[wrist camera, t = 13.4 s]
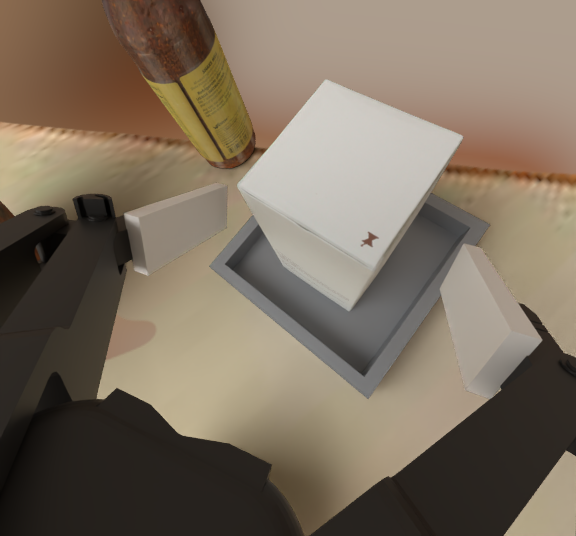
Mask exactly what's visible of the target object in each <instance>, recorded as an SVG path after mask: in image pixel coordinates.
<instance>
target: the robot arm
mask: <svg viewBox="0 0 576 536" xmlns="http://www.w3.org/2000/svg"><path fill="white" fill-rule="evenodd" d="M73 202H74V205H75V209H76V212H77V216H78V220H77V221H73V220H67V217H66V213H65V210H64V209H62V208H58V207H50V206H40V207H37V208H34V209H30V210H27V211H25V212H23V213H21V214H19V215H17V216H15V217H13V218H11V219H9V220H7V221H5V222H2V223H0V536H304V534H303V531H302V528H301V526H300V524H299V521H298V519H297V517H296V515H295V513H294V511H293V509H292V508H291V506H290V505H289V503H288V501H287V500H286V498H285V497H284V496H283V495H282V493H281V492H280V491H279V489H278V488H277V487H276V486H275V485H274V484H273V483H272V482H271V481H270V480H269V475H270V471H271V466H272V465H271V464H269V463H267V462H265V461H263V460H261V459H259V458H257V457H255V456H253V455H251V454H249V453H247V452H245V451H243V450H241V449H239V448H237V447H235V446H233V445H231V444H228V443H222V442H216V441H210V440H204V439H198V438H192V437H186V436H182V435H180V434H178V433H177V432H176V431H175V430H174V429H173V428H172V427H171V426H170V425H169V424H168V422H167V421H166V420H165V419H164V418H163V417H162V416H161V415H160V414H159V413H158V412H157V411H156V410H155V409H154V408H153V407H152V406H151V405H150V404H148V403H146V402H144V401H142V400H140V399H138V398H136V397H134V396H132V395H130V394H128V393H126V392H124V391H122V390H120V389H118V388H116V389H115V390H114V391H113V392H112V393H111V394H110V395H109V396H108V397H107V398H106V399H96V398H97V392H98V388H99V384H100V380H101V375H102V371H103V367H104V363H105V359H106V355H107V351H108V346H109V342H110V338H111V334H112V330H113V325H114V321H115V317H116V313H117V309H118V305H119V301H120V296H121V292H122V288H123V284H124V280H125V276H126V271H127V269H126V264H125V263H126V262H128V261H130V260H132V261H133V266H134V271H136V272H139V273H142V274H145V275H147V276H149V275H150V274H152V273H154V272H155V271H157V270H158V269H160V268H162V267H163V266H165V265H167V264H168V263H170V262H172V261H173V260H175V259H176V258H178V257H180V256H181V255H183V254H185V253H186V252H188V251H190V250H191V249H193V248H194V247H196V246H198V245H199V244H201V243H203V242H204V241H206V240H208V239H209V238H211V237H212V236H214V235H216V234H217V233H219V232H221V231H222V230H224V229H226V228H227V185H224V184H220V183H214V184H211V185H208V186H205V187H201V188H198V189H195V190H192V191H189V192H186V193H183V194H180V195H177V196H174V197H171V198H168V199H165V200H162V201H159V202H156V203H153V204H150V205H147V206H143V207H140V208H137V209H134V210H131V211H128V212H125V213H123V214H124V215H123V216H120V217H117V218H116V217H115V212H114V207H113V202H112V198H111V197H110V196H107V195H103V194H86V195H80V196H77V197H75V198H73ZM35 248H37V251H38V253H39V256H40V258H41V259H40V260H39V261H37V258H36V256H35ZM440 293H441V297H442V301H443V305H444V309H445V312H446V316H447V320H448V324H449V328H450V332H451V336H452V340H453V344H454V348H455V352H456V356H457V360H458V364H459V368H460V372H461V376H462V380H463V384H464V388H465V390H466V391H469V392H471V393H474V394H477V395H480V396H482V397H485V398H488V399H490V400H489V401H487V402H486V403H485V404H484V405H482V406H481V407H480V408H479V409H477V410H476V411H475V412H474V413H472V414H471V415H470V416H469V417H467V418H466V419H465V420H464V421H462V422H461V423H460V424H459V425H457V426H456V427H455V428H454V429H452V430H451V431H450V432H448V433H447V434H446V435H445V436H443V437H442V438H441V439H440V440H438V441H437V442H436V443H435V444H433V445H432V446H431V447H430V448H428V449H427V450H426V451H425V452H423V453H422V454H421V455H420V456H418V457H417V458H416V459H415V460H413V461H412V462H411V463H410V464H408V465H407V466H406V467H405V468H403V469H402V470H401V471H400V472H398V473H397V474H396V475H394V476H393V477H391V478H390V477H389V476H388V477H386V478H384V479H382V480H381V481H379V482H378V483H377V484H375V485H374V486H373V487H371V488H370V489H369V490H368V491H366V492H365V493H364V494H362V495H361V496H360V497H359V498H357V499H356V500H355V501H353V502H352V503H351V504H350V505H348V506H347V507H346V508H344V509H343V510H342V511H341V512H339V513H338V514H337V515H336V516H334V517H333V518H332V519H330V520H329V521H328V522H327V523H325V524H324V525H323V526H321V527H320V528H319V529H318V530H316V531H315V532H314V533H313V534H311V535H310V536H504V534H505V533H506V531H507V530H508V529H509V527H510V526H511V525H512V523H513V522H514V521H515V519H516V518H517V516H518V515H519V514H520V512H521V511H522V510H523V508H524V507H525V506H526V504H527V503H528V501H529V500H530V499H531V497H532V496H533V495H534V493H535V492H536V491H537V489H538V488H539V486H540V485H541V484H542V482H543V481H544V480H545V478H546V477H547V475H548V474H549V473H550V471H551V470H552V469H553V467H554V466H555V465H556V463H557V462H558V460H559V459H560V458H561V456H562V455H563V454H564V452H565V451H566V450H567V451H568V452H570V453H572V454H573V455H575V456H576V358H575V357H573V356H571V355H568V354H565V353H563V351H562V350H561V349H560V347H559V346H558V344H557V343H556V342H555V340H554V339H553V337H552V336H551V335H550V333H548V331H547V329H546V328H545V326H544V325H542V322H541V321H540V319H539V318H538V317H537V315H536V314H535V313H534V312H532V311H531V310H530V309H529V308H527V307H526V306H525V305H524V304H520V303H518V302H517V301H516V299H515V298H514V296H513V295H512V293H511V292H510V290H509V289H508V287H507V286H506V284H505V283H504V281H503V280H502V278H501V277H500V275H499V274H498V273H497V271H496V270H495V268H494V267H493V265H492V264H491V262H490V261H489V259H488V258H487V256H486V255H485V253H484V252H483V250H482V249H481V247H477V246H473V245H468V244H463V245H462V247H461V249H460V251H459V253H458V255H457V257H456V259H455V261H454V262H453V264H452V266H451V268H450V270H449V272H448V274H447V276H446V278H445V279H444V281H443V283H442V285H441V287H440ZM500 388H501V391H500V392H499V393H497V394H496V395H495V393H496V392H497V391H498V390H499V389H500ZM494 395H495V396H494ZM493 396H494V397H493Z"/></svg>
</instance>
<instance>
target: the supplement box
mask: <svg viewBox="0 0 576 536" xmlns="http://www.w3.org/2000/svg"><path fill="white" fill-rule="evenodd" d="M463 138H464V137H463V136H462V135H460V134H458V133H455V132H453V131H451V130H448V129H446V128H443V127H440V126H438V125H436V124H433V123H431V122H428V121H425V120H423V119H421V118H418V117H416V116H414V115H411V114H409V113H406V112H404V111H402V110H399V109H397V108H394V107H392V106H389V105H387V104H385V103H382V102H380V101H377V100H375V99H373V98H370V97H368V96H365V95H363V94H361V93H358V92H356V91H353V90H351V89H349V88H346V87H344V86H342V85H339V84H337V83H335V82H332V81H330V80H324V82H323V83H322V84H321V85H320V86H319V88H318V89H317V90H316V91H315V92H314V94H313V95H312V96H311V97H310V98H309V100H308V101H307V102H306V103H305V105H304V106H303V107H302V108H301V109H300V111H299V112H298V113H297V114H296V115H295V117H294V118H293V119H292V120H291V122H290V123H289V124H288V125H287V126H286V128H285V129H284V130H283V131H282V133H281V134H280V135H279V136H278V138H277V139H276V140H275V141H274V142H273V143H272V145H271V146H270V147H269V148H268V149H267V150H266V151H265V153H264V154H263V155H262V156H261V157H260V158H259V159H258V161H257V162H256V163H255V164H254V165H253V166H252V168H251V169H250V170H249V171H248V172H247V173H246V175H245V176H244V177H243V178H242V179H241V180H240V181H239V182H238V184H237V187H238V189H239V191H240V193H241V195H242V196H243V198H244V200H245V202H246V204H247V205H248V207H249V209H250V210H251V212H252V214H253V216H254V217H255V219H256V221H257V222H258V224H259V226H260V227H261V229H262V231H263V232H264V234H265V236H266V237H267V239H268V241H269V242H270V244H271V246H272V248H273V249H274V251H275V253H276V254H277V256H278V258H279V260H280V261H281V263H282V265H283V266H284V267H285V268H286V269H288V270H289V271H290V272H292V273H293V274H295V275H296V276H297V277H299V278H300V279H302V280H303V281H305V282H306V283H308V284H309V285H310V286H312V287H313V288H315V289H316V290H318V291H319V292H321V293H322V294H324V295H325V296H327V297H328V298H330V299H331V300H332V301H334V302H335V303H337V304H338V305H340V306H341V307H343V308H344V309H346V310H347V311H351V310H352V308H353V307H354V306H355V305H356V303H357V302H358V300H359V299H360V298H361V296H362V295H363V294H364V292H365V291H366V289H367V288H368V287H369V285H370V284H371V283H372V281H373V280H374V278H375V277H376V276H377V274H378V273H379V271H380V270H381V268H382V267H383V266H384V264H385V263H386V261H387V259H388V258H389V256H390V255H391V253H392V252H393V250H394V249H395V247H396V246H397V244H398V243H399V242H400V240H401V238H402V237H403V235H404V234H405V232H406V231H407V229H408V228H409V226H410V225H411V223H412V222H413V220H414V219H415V217H416V215H417V214H418V212H419V211H420V209H421V208H422V206H423V205H424V203H425V201H426V200H427V198H428V197H429V195H430V193H431V192H432V190H433V189H434V187H435V185H436V184H437V182H438V180H439V179H440V177H441V175H442V174H443V172H444V170H445V169H446V167H447V166H448V164H449V162H450V161H451V159H452V157H453V156H454V154H455V152H456V151H457V149H458V147H459V145H460V144H461V142H462V140H463Z"/></svg>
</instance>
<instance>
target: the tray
mask: <svg viewBox="0 0 576 536" xmlns="http://www.w3.org/2000/svg"><path fill="white" fill-rule="evenodd" d="M489 226H490V224H488V223H486V222H484V221H482V220H480V219H479V218H477V217H475V216H473V215H471V214H469V213H467V212H466V211H464V210H462V209H460V208H458V207H456V206H454V205H453V204H451V203H449V202H447V201H445V200H443V199H441V198H440V197H438V196H436V195H434V194H432V193H430V195H429V197H428V198H427V200H426V201H425V203H424V205H423V206H422V208H421V209H420V211H419V212H418V214H417V215H416V217H415V219H414V220H413V222H412V223H411V225H410V226H409V228H408V229H407V231H406V232H405V234H404V235H403V237H402V238H401V240H400V242H399V243H398V244H397V246H396V247H395V249H394V250H393V252H392V253H391V255H390V256H389V258H388V259H387V261H386V263H385V264H384V266H383V267H382V268H381V270H380V271H379V273H378V274H377V276H376V277H375V278H374V280H373V281H372V283H371V284H370V285H369V287H368V288H367V289H366V291H365V292H364V294H363V295H362V296H361V298H360V299H359V300H358V302H357V303H356V305H355V306H354V307H353V308H352V310H351V311H347V310H346V309H344V308H343V307H341V306H340V305H338V304H337V303H335V302H334V301H332V300H331V299H330V298H328V297H327V296H325V295H324V294H322V293H321V292H319V291H318V290H316V289H315V288H313V287H312V286H310V285H309V284H308V283H306V282H305V281H303V280H302V279H300V278H299V277H297V276H296V275H295V274H293V273H292V272H290V271H289V270H288V269H286V268H285V267H284V266H283V265H282V263H281V261H280V260H279V258H278V256H277V254H276V253H275V251H274V249H273V248H272V246H271V244H270V242H269V241H268V239H267V237H266V236H265V234H264V232H263V231H262V229H261V227H260V226H259V224H258V222H257V221H256V219H255V217H254V216H253V215H252V217H251V218H250V219H249V220H248V221H247V222H246V224H245V225H244V226H243V227H242V228H241V230H240V231H239V232H238V233H237V234H236V235H235V237H234V238H233V239H232V240H231V241H230V242H229V244H228V245H227V246H226V247H225V248H224V249H223V251H222V252H221V253H220V254H219V255H218V256H217V258H216V259H215V260H214V261H213V262H212V263H211V265H210V266H209V267H210V268H211V269H213V270H214V271H215V272H216V273H217V274H219V275H220V276H221V277H222V278H223V279H225V280H226V281H227V282H228V283H229V284H231V285H232V286H233V287H234V288H235V289H237V290H238V291H239V292H240V293H241V294H243V295H244V296H245V297H246V298H247V299H249V300H250V301H251V302H252V303H253V304H255V305H256V306H257V307H258V308H259V309H261V310H262V311H263V312H264V313H265V314H267V315H268V316H269V317H270V318H271V319H273V320H274V321H275V322H276V323H277V324H279V325H280V326H281V327H282V328H283V329H285V330H286V331H287V332H288V333H289V334H291V335H292V336H293V337H294V338H295V339H297V340H298V341H299V342H300V343H301V344H303V345H304V346H305V347H306V348H307V349H309V350H310V351H311V352H312V353H313V354H315V355H316V356H317V357H318V358H319V359H321V360H322V361H323V362H324V363H325V364H327V365H328V366H329V367H330V368H331V369H333V370H334V371H335V372H336V373H337V374H339V375H340V376H341V377H342V378H343V379H345V380H346V381H347V382H348V383H349V384H351V385H352V386H353V387H354V388H355V389H357V390H358V391H359V392H360V393H361V394H363V395H364V396H365V397H366V398H367V399H369V397H370V396H371V394H372V393H373V392H374V390H375V389H376V387H377V386H378V384H379V383H380V382H381V380H382V379H383V377H384V376H385V374H386V373H387V372H388V370H389V369H390V367H391V366H392V364H393V363H394V362H395V360H396V359H397V357H398V356H399V354H400V353H401V352H402V350H403V349H404V347H405V346H406V344H407V343H408V342H409V340H410V339H411V337H412V336H413V334H414V333H415V332H416V330H417V329H418V327H419V326H420V324H421V323H422V322H423V320H424V319H425V317H426V316H427V314H428V313H429V312H430V310H431V309H432V307H433V306H434V304H435V303H436V302H437V300H438V299H439V297H440V296H441V293H440V287H441V285H442V283H443V281H444V279H445V278H446V276H447V274H448V272H449V270H450V268H451V266H452V264H453V262H454V261H455V259H456V257H457V255H458V253H459V251H460V249H461V247H462V245H463V244H468V245H473V246H476V244H477V243H478V242H479V240H480V239H481V237H482V236H483V234H484V233H485V232H486V230H487V229H488V227H489Z"/></svg>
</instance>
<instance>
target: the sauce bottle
mask: <svg viewBox="0 0 576 536" xmlns="http://www.w3.org/2000/svg"><path fill="white" fill-rule="evenodd" d="M102 3H103V8H104V11H105V13H106V16H107V18H108V20H109V23H110V25H111V28H112V30H113V32H114V34H115V36H116V38H117V39H118V41H119V42H120V44H121V45H122V46H123V47H124V49H125V50H126V51H127V53H128V54H129V55H130V57H131V58H132V59H133V61H134V62H135V63H136V65H137V66H138V68H139V70H140V72H141V74H142V76H143V77H144V78H145V80H146V81H147V82H148V84H149V85H150V86H151V88H152V89H153V90H154V91H155V93H156V95H157V96H158V97H159V99H160V100H161V101H162V103H163V104H164V106H165V107H166V108H167V110H168V111H169V112H170V114H171V115H172V116H173V118H174V119H175V121H176V122H177V123H178V124H179V126H180V127H181V129H182V130H183V131H184V132H185V134H186V135H187V137H188V138H189V139H190V141H191V142H192V144H193V145H194V146H195V148H196V149H197V150H198V152H199V153H200V154H201V155H202V156H203V157H204V158H205V159H206V160H207V161H208V162H209V163H210V164H211V165H212V166H214V167H218V168H234V167H236V166H238V165H241V164H242V163H243V162H244V161H246V160H247V159H248V158H249V157H250V155H251V154H252V152H253V151H254V147H255V133H254V131H253V127H252V123H251V120H250V118H249V115H248V113H247V110H246V108H245V105H244V102H243V100H242V98H241V95H240V93H239V91H238V88H237V86H236V83H235V81H234V78H233V75H232V73H231V70H230V68H229V65H228V63H227V61H226V58H225V55H224V53H223V50H222V48H221V45H220V43H219V41H218V38H217V35H216V33H215V31H214V28H213V26H212V23H211V21H210V19H209V18H208V16H207V14H206V11H205V9H204V7H203V5H202V3H201V1H200V0H102Z"/></svg>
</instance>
